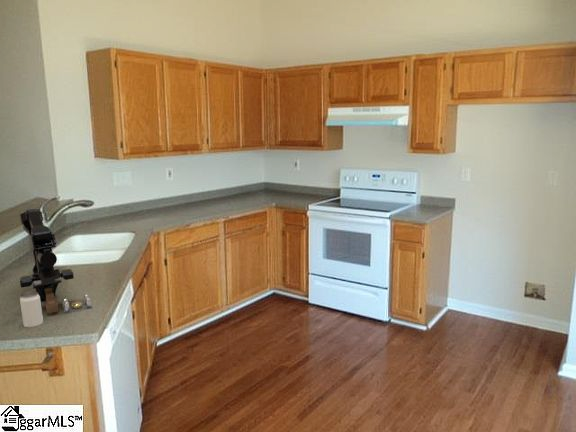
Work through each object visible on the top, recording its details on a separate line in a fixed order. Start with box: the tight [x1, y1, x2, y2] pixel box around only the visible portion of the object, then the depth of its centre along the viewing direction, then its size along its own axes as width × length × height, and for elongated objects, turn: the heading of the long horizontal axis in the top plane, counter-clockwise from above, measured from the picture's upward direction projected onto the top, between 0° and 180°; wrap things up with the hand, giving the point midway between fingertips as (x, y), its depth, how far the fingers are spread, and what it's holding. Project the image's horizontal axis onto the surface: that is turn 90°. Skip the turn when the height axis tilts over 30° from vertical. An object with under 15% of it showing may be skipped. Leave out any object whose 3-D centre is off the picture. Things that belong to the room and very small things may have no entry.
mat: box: [61, 299, 93, 315], centre depth 187 cm, size 10×12×1 cm
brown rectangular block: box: [45, 288, 59, 314], centre depth 182 cm, size 12×4×6 cm, turn 32°
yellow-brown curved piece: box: [71, 301, 83, 309], centre depth 185 cm, size 4×4×2 cm
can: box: [19, 290, 44, 328], centre depth 170 cm, size 6×6×12 cm
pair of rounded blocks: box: [61, 293, 92, 314], centre depth 184 cm, size 10×6×4 cm, turn 122°
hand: (49, 298), depth 185 cm, fingers closed on brown rectangular block, 2 cm apart
